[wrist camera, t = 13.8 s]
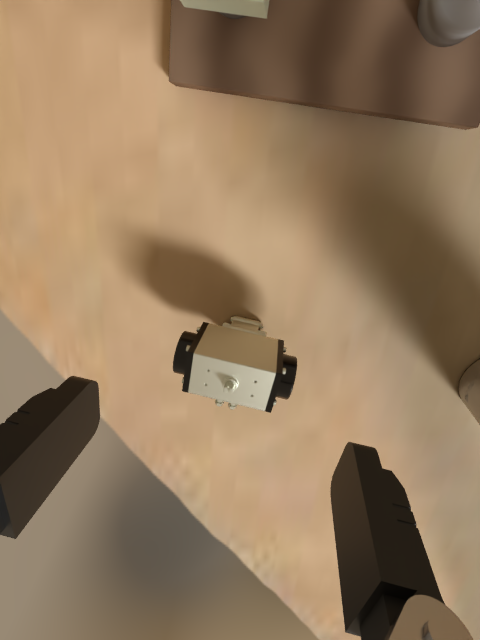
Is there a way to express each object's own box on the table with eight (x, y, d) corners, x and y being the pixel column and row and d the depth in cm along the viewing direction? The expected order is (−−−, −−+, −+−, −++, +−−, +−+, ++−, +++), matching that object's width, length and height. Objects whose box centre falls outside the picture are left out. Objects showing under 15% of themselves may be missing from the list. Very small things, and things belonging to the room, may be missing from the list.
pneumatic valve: (201, 301, 39) (167, 354, 28) (296, 323, 38) (298, 386, 27) (195, 340, 41) (162, 402, 30) (284, 361, 41) (283, 431, 30)
